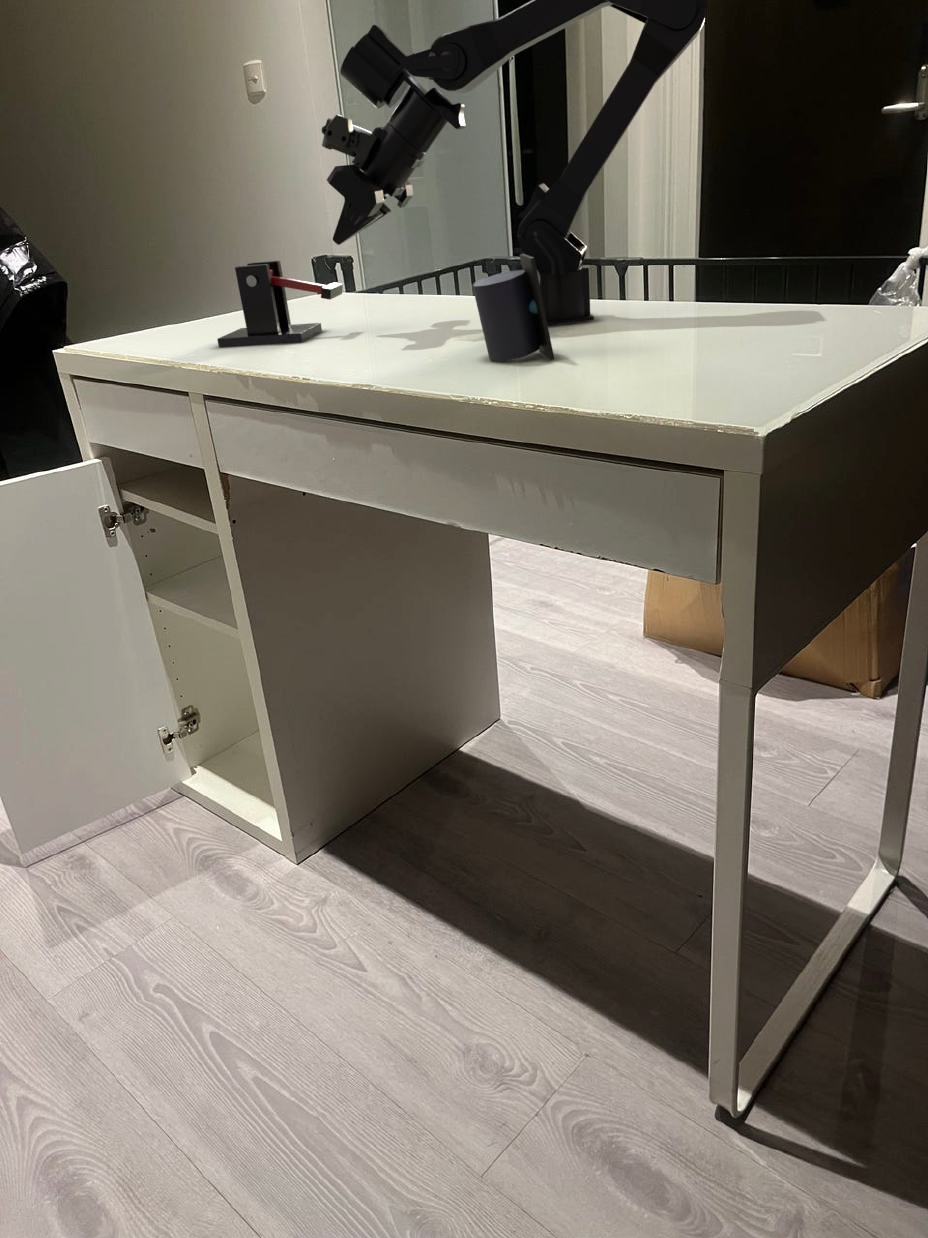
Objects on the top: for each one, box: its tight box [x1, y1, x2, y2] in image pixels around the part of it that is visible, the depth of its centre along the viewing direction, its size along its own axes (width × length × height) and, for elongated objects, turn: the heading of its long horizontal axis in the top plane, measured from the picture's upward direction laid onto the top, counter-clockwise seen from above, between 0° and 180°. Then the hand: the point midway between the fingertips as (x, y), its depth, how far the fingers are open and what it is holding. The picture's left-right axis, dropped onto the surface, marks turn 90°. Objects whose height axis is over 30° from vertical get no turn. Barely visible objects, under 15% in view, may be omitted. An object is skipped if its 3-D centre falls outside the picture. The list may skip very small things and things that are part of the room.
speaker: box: [472, 253, 555, 363], centre depth 98 cm, size 8×6×10 cm
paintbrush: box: [270, 269, 344, 301], centre depth 123 cm, size 12×5×2 cm, turn 79°
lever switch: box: [216, 260, 323, 349], centre depth 124 cm, size 12×8×10 cm, turn 79°
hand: (336, 242), depth 119 cm, fingers closed
